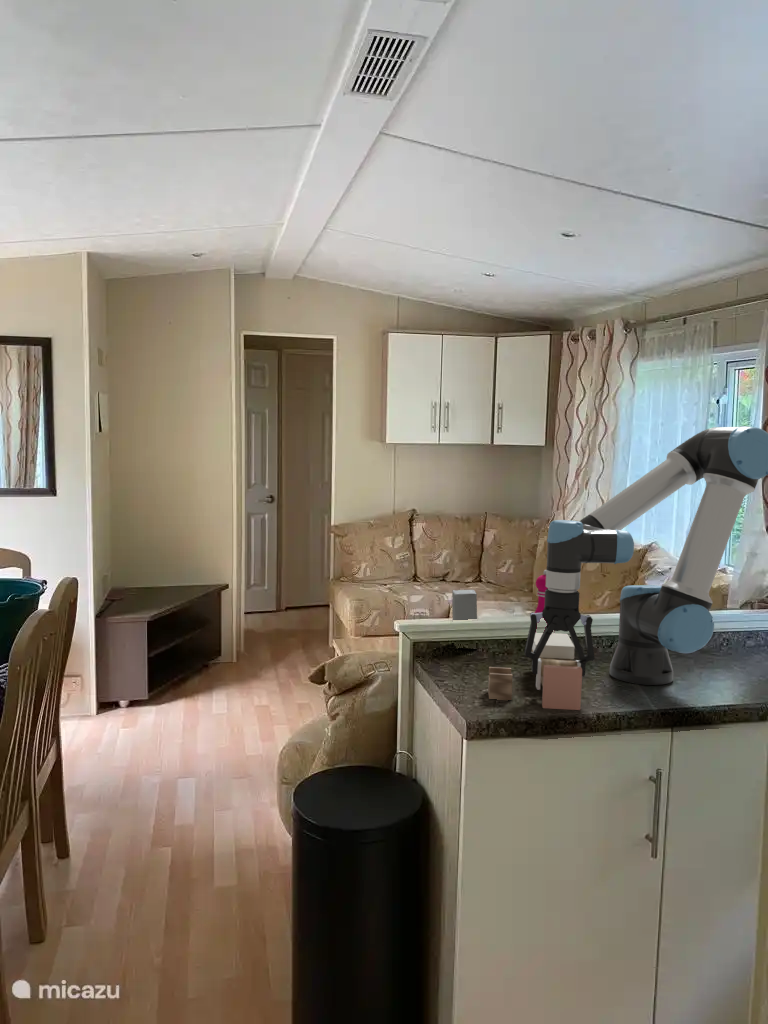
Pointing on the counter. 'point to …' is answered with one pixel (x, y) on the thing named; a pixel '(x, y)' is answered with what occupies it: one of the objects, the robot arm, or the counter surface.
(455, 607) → the skincare box
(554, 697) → the block
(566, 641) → the slab
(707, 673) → the counter surface
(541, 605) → the pepper mill
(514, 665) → the counter surface
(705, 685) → the counter surface
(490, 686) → the pedestal
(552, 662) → the roller
